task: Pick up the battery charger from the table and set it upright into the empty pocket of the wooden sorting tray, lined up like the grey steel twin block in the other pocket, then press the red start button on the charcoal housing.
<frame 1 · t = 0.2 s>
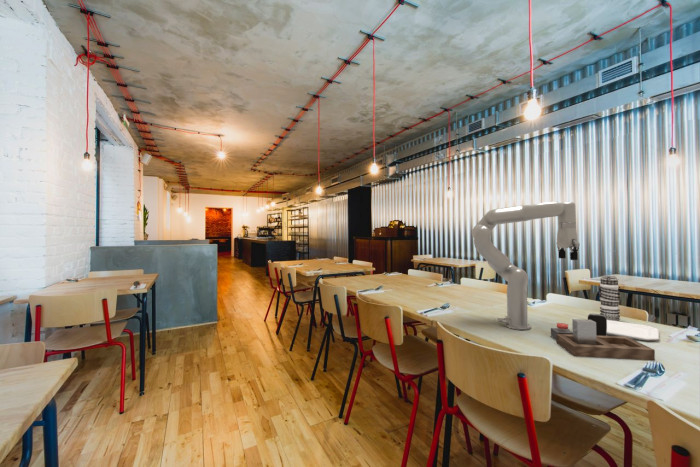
hand: (567, 259, 156), 36 cm above the table, tool pointing down, fingers open, 9 cm apart
start button: (562, 326, 142), point 6 cm above the table, slide at 0.0 cm
button housing: (562, 338, 142), on the table
decorative candle: (609, 321, 168), on the table
wooden sorting tray: (601, 350, 128), on the table
plate: (623, 332, 150), on the table
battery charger: (597, 338, 142), on the table
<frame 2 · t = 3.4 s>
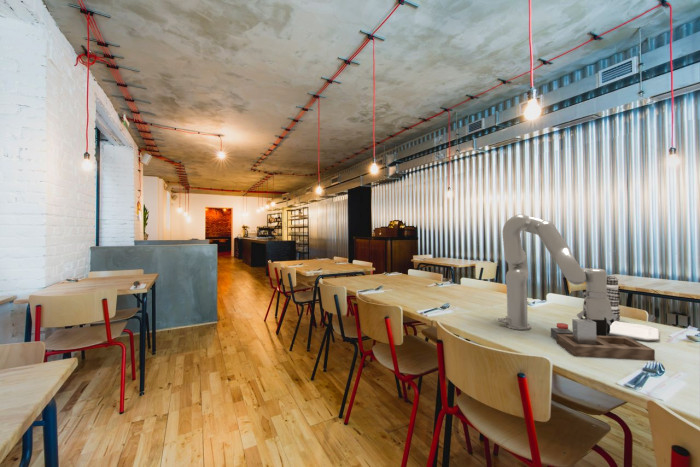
hand: (597, 332, 142), 3 cm above the table, tool pointing down, fingers closed on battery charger, 7 cm apart
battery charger: (597, 338, 142), on the table, touching gripper
everything else where it was.
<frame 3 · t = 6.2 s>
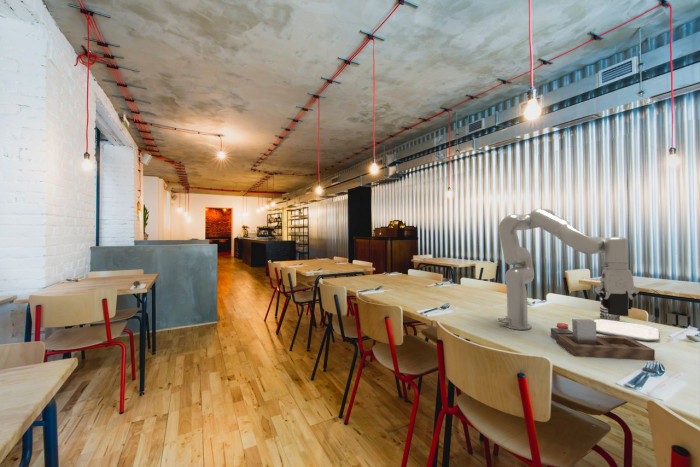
hand: (617, 308, 127), 18 cm above the table, tool pointing down, fingers closed on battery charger, 7 cm apart
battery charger: (617, 315, 127), point 15 cm above the table, touching gripper
everything else where it was.
when the fingers open (6 cm above the table, at t = 9.2 s): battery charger drops 1 cm, resting on wooden sorting tray.
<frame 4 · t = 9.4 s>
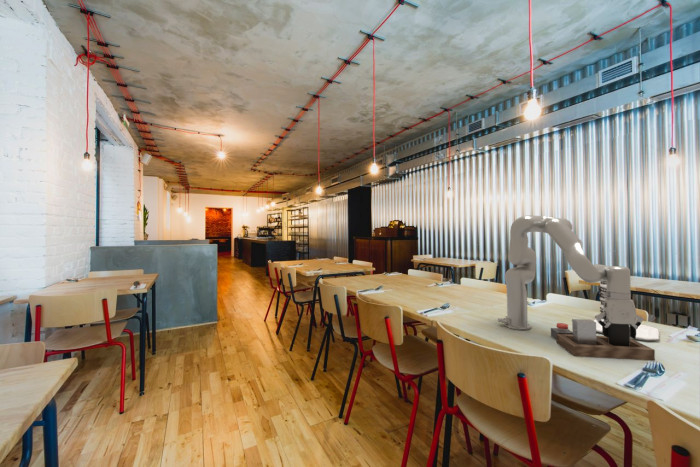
hand: (619, 336, 126), 6 cm above the table, tool pointing down, fingers open, 9 cm apart
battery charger: (618, 348, 127), point 1 cm above the table, touching wooden sorting tray
everything else where it was.
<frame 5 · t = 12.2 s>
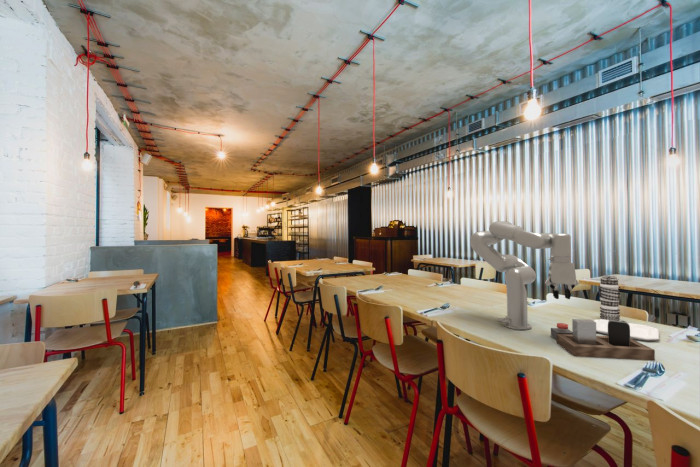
hand: (561, 298, 142), 19 cm above the table, tool pointing down, fingers open, 4 cm apart
nothing on the table moved.
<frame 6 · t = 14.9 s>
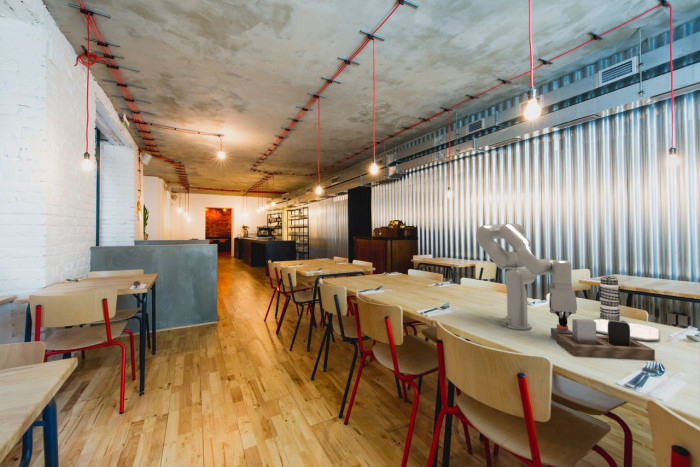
hand: (563, 325, 142), 6 cm above the table, tool pointing down, fingers closed
start button: (562, 327, 142), point 6 cm above the table, slide at 0.6 cm, touching gripper
everything else where it was.
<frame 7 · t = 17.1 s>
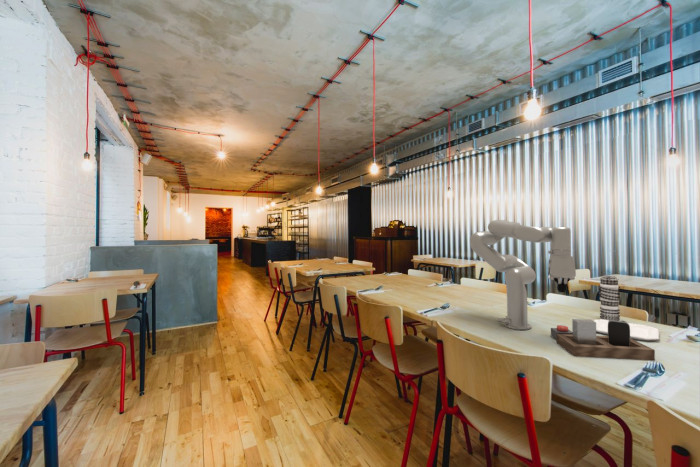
hand: (561, 291, 142), 22 cm above the table, tool pointing down, fingers closed
start button: (562, 328, 142), point 5 cm above the table, slide at 1.1 cm
everything else where it was.
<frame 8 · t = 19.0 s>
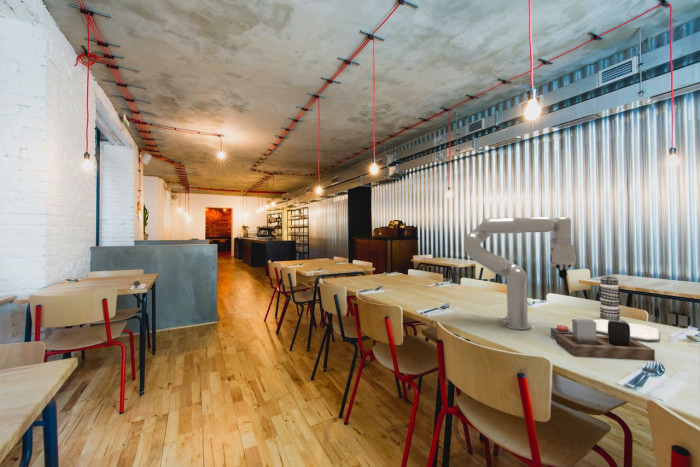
hand: (562, 277, 153), 27 cm above the table, tool pointing down, fingers closed
nothing on the table moved.
at the end: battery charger 0.1 cm from the target spot on the wooden sorting tray, point 1.3 cm above the wooden sorting tray's base; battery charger tilted 0°; start button slide at 1.1 cm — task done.
